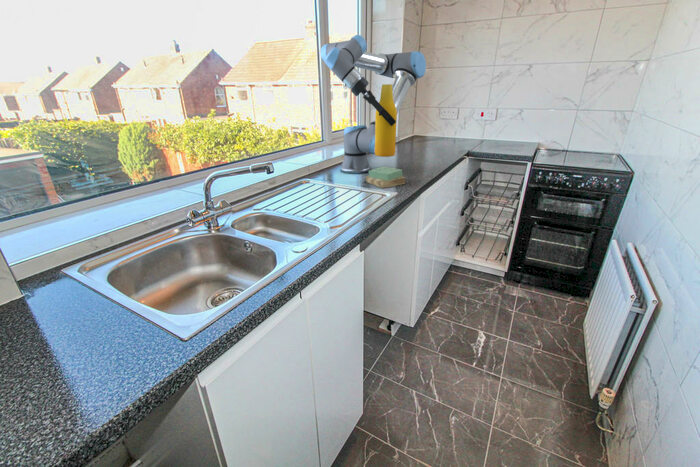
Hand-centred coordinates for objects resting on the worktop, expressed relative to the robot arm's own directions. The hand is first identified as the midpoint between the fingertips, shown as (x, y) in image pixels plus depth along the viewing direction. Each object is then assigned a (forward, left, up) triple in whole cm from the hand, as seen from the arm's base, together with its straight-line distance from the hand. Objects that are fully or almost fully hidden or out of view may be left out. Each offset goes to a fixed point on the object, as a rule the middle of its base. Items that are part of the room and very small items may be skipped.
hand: (393, 122), depth 142 cm
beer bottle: (-2, -3, -14) cm, 14 cm away
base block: (-2, -2, -27) cm, 27 cm away
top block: (-1, -2, -24) cm, 24 cm away
